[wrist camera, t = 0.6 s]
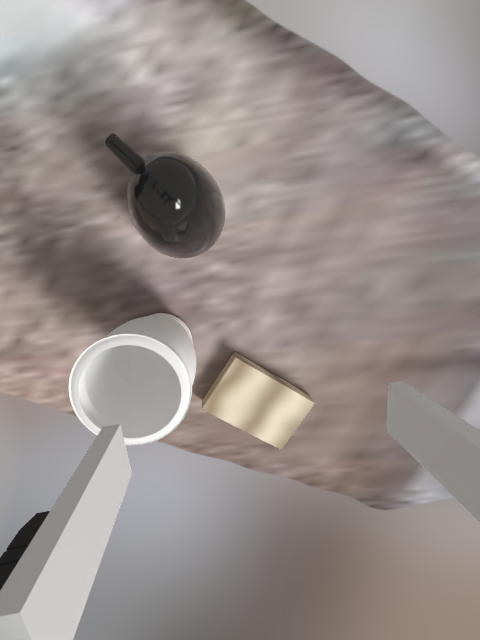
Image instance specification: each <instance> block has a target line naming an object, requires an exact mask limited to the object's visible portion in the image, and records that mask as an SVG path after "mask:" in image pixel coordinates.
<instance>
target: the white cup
mask: <svg viewBox="0 0 480 640" xmlns="http://www.w3.org/2000/svg"><path fill="white" fill-rule="evenodd" d="M195 373H196V355H195V351H194V347H193V343H192V336H191V333H190V330H189V328H188V327H187V325H186V324H185V323H184V322H183V321H182V320H181V319H179V318H178V317H176V316H174V315H171V314H167V313H156V314H152V315H149V316H146V317H141V318H136V319H133V320H130V321H128V322H126V323H124V324H122V325H120V326H118V327H117V328H115V329H114V330H113V331H112V332H110V333H109V334H108V335H107V336H106V337H105V338H103V339H101V340H99V341H98V342H96V343H94V344H93V345H91V346H90V347H89V348H87V349H86V350H85V351H84V352H83V353H82V354H81V355H80V357H79V358H78V360H77V361H76V363H75V365H74V367H73V369H72V372H71V375H70V380H69V396H70V400H71V404H72V407H73V409H74V411H75V413H76V415H77V416H78V418H79V419H80V421H81V422H82V423H83V424H84V425H85V426H86V427H87V428H88V429H89V430H90V431H92V432H93V433H94V434H96V435H98V434H99V432H100V431H101V429H102V427H104V426H111V425H117V424H120V425H121V429H122V433H123V438H124V442H125V445H141V444H146V443H150V442H153V441H156V440H159V439H161V438H163V437H164V436H166V435H168V434H169V433H170V432H172V431H173V430H174V429H175V428H176V427H177V426H178V425H179V424H180V422H181V421H182V420H183V418H184V416H185V415H186V413H187V410H188V408H189V404H190V400H191V395H192V385H193V382H194V378H195Z"/></svg>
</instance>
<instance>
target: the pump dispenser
mask: <svg viewBox="0 0 480 640" xmlns="http://www.w3.org/2000/svg"><path fill="white" fill-rule="evenodd" d="M105 144H106V146H107V147H108V148H109V149H110V150H111V151H112V152H113V153H114V154H115V155H116V156H117V157H118V159H119V160H120V161H121V162H122V163H123V164H124V165H125V166H126V167H127V168H128V169H129V170H130V171H131V172H132V173H131V176H130V178H129V182H128V186H127V204H128V209H129V213H130V216H131V219H132V221H133V223H134V225H135V227H136V229H137V230H138V232H139V233H140V235H141V236H142V237H143V239H144V240H145V241H146V242H147V243H148V244H149V245H150V246H151V247H153V248H154V249H155V250H157V251H159V252H160V253H162V254H165V255H167V256H170V257H174V258H191V257H195V256H198V255H200V254H202V253H204V252H206V251H207V250H208V249H210V248H211V247H212V246H213V245H214V244H215V242H216V241H217V240H218V238H219V236H220V234H221V232H222V229H223V226H224V222H225V204H224V200H223V196H222V193H221V191H220V189H219V187H218V185H217V183H216V181H215V180H214V178H213V177H212V176H211V174H210V173H209V172H208V171H207V170H206V169H205V168H204V167H203V166H202V165H201V164H199V163H198V162H197V161H195V160H194V159H192V158H190V157H188V156H186V155H184V154H181V153H178V152H173V151H160V152H156V153H153V154H151V155H149V156H147V157H145V158H144V159H143V158H142V157H141V156H140V155H139V154H137V153H136V152H135V151H134V150H133V149H132V148H130V147H129V146H128V145H127V144H126V143H125V142H124V141H122V140H121V139H120V138H119V137H118V136H117V135H115V134H114V133H111V134H109V135H108V136H107V138H106V140H105Z"/></svg>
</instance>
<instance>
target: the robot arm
mask: <svg viewBox="0 0 480 640" xmlns="http://www.w3.org/2000/svg"><path fill="white" fill-rule="evenodd" d="M386 431H387V432H388V433H389V434H390V435H391V436H392V437H393V438H394V439H395V440H396V441H397V442H398V443H399V444H400V445H401V446H402V447H404V448H405V449H406V450H407V451H408V452H409V453H410V454H411V455H412V456H413V457H414V458H415V459H416V460H417V461H418V462H419V463H420V464H421V465H422V466H423V467H424V468H425V469H426V470H427V471H428V472H429V473H430V474H431V475H432V476H433V477H434V478H435V479H436V480H437V481H438V482H439V483H440V484H441V485H442V486H443V487H445V488H446V489H447V490H448V491H449V492H450V493H451V494H452V495H453V496H454V497H455V498H456V499H457V500H458V501H459V502H460V503H461V504H462V505H463V506H464V507H465V508H466V509H467V510H468V511H469V512H470V513H471V514H472V515H473V516H474V517H475V518H476V519H477V520H478V521H480V430H478V429H477V428H475V427H473V426H472V425H470V424H469V423H467V422H466V421H464V420H462V419H461V418H459V417H458V416H456V415H455V414H453V413H451V412H450V411H448V410H447V409H445V408H444V407H442V406H441V405H439V404H437V403H436V402H434V401H433V400H431V399H430V398H428V397H426V396H425V395H423V394H422V393H420V392H419V391H417V390H415V389H414V388H412V387H411V386H409V385H408V384H406V383H405V382H403V381H401V382H395V383H388V405H387V428H386ZM131 475H132V471H131V468H130V463H129V459H128V455H127V450H126V446H125V442H124V438H123V433H122V429H121V425H120V424H117V425H111V426H104V427H102V429H101V431H100V432H99V434H98V435H97V437H96V439H95V440H94V442H93V443H92V445H91V447H90V448H89V450H88V451H87V453H86V455H85V456H84V458H83V459H82V461H81V463H80V464H79V466H78V467H77V469H76V471H75V472H74V474H73V476H72V477H71V479H70V480H69V482H68V483H67V485H66V487H65V488H64V490H63V492H62V493H61V495H60V496H59V498H58V500H57V501H56V503H55V504H54V506H53V507H52V509H51V511H47V512H42V513H37V514H36V515H35V516H34V517H33V518H32V519H31V520H30V521H29V522H28V523H26V524H25V525H24V526H23V527H22V528H21V530H19V532H18V533H17V535H16V536H15V538H14V539H13V540H12V542H11V543H10V545H9V546H8V548H7V551H6V552H4V553H3V555H2V556H1V558H0V640H73V638H74V635H75V632H76V629H77V626H78V624H79V621H80V618H81V615H82V613H83V609H84V607H85V604H86V601H87V598H88V596H89V593H90V590H91V587H92V584H93V582H94V579H95V576H96V573H97V570H98V568H99V565H100V562H101V559H102V556H103V554H104V551H105V548H106V545H107V542H108V540H109V536H110V534H111V531H112V528H113V525H114V523H115V520H116V517H117V514H118V511H119V509H120V506H121V503H122V500H123V497H124V495H125V492H126V489H127V486H128V483H129V480H130V478H131Z"/></svg>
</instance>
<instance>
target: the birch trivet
mask: <svg viewBox="0 0 480 640" xmlns="http://www.w3.org/2000/svg"><path fill="white" fill-rule="evenodd" d="M314 404H315V402H314V401H313V400H312V398H311V397H310V396H309V395H308V394H307V393H305V392H303V391H301V390H300V389H298V388H296V387H295V386H293V385H291V384H289V383H288V382H286V381H284V380H282V379H281V378H279V377H277V376H276V375H274V374H272V373H270V372H269V371H267V370H265V369H263V368H262V367H260V366H258V365H257V364H255V363H253V362H251V361H250V360H248V359H246V358H244V357H243V356H241V355H239V354H238V353H236V352H234V353H233V355H232V356H231V358H230V359H229V361H228V362H227V364H226V365H225V367H224V368H223V370H222V371H221V373H220V374H219V376H218V378H217V379H216V381H215V382H214V384H213V385H212V387H211V388H210V390H209V391H208V393H207V394H206V396H205V397H204V399H203V401H202V410H204V411H206V412H208V413H210V414H212V415H214V416H216V417H218V418H220V419H222V420H224V421H226V422H228V423H230V424H232V425H234V426H236V427H238V428H240V429H241V430H243V431H245V432H247V433H249V434H251V435H253V436H255V437H257V438H259V439H261V440H263V441H265V442H267V443H269V444H271V445H273V446H275V447H277V448H279V449H280V450H281V449H282V448H283V447H284V445H285V444H286V442H287V441H288V440H289V438H290V437H291V436H292V434H293V433H294V432H295V430H296V429H297V427H298V426H299V425H300V423H301V422H302V421H303V419H304V418H305V416H306V415H307V414H308V412H309V411H310V410H311V408H312V407H313V405H314Z"/></svg>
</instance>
